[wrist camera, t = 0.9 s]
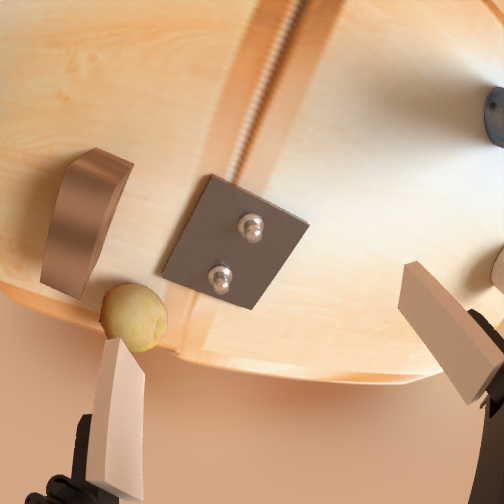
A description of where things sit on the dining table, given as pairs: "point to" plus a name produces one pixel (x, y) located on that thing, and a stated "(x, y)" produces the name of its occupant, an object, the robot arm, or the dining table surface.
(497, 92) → the bottle
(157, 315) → the fruit
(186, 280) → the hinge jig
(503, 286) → the mug
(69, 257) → the door
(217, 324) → the dining table surface
